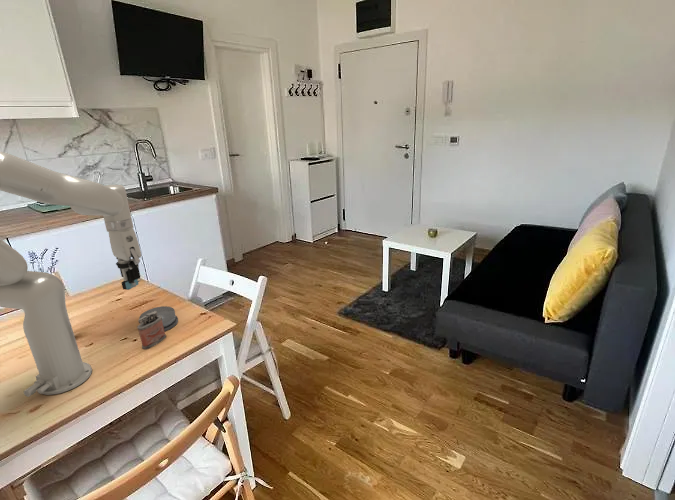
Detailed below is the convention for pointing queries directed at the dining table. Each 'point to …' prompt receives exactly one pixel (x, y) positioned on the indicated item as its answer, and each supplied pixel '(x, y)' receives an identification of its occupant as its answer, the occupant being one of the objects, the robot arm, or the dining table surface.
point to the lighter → (151, 330)
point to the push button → (126, 275)
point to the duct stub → (164, 316)
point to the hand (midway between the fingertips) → (131, 276)
